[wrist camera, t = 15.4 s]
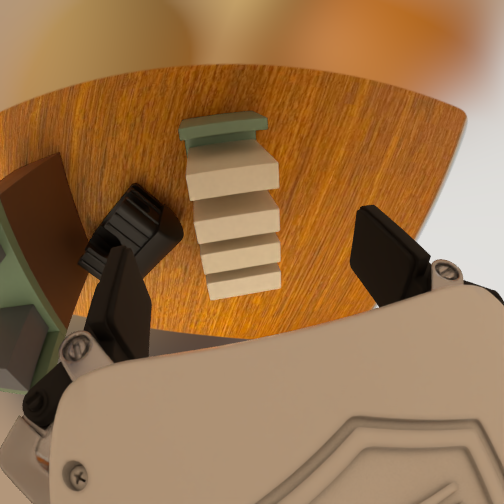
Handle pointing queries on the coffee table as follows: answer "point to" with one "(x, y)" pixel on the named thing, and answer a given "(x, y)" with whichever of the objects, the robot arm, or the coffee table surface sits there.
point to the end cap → (134, 232)
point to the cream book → (230, 169)
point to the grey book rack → (37, 270)
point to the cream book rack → (234, 217)
